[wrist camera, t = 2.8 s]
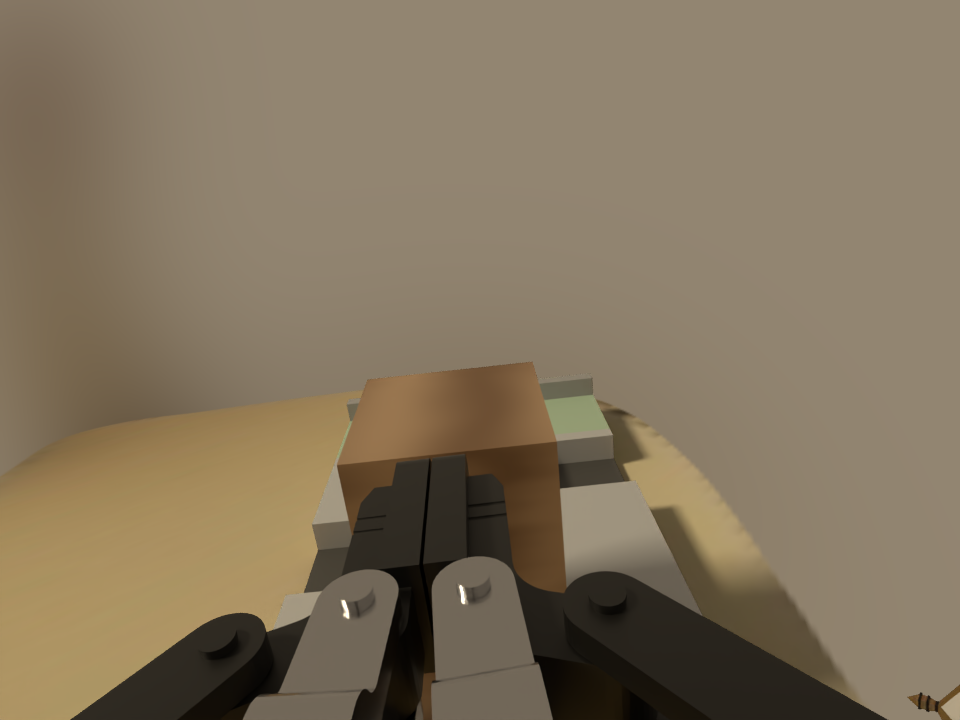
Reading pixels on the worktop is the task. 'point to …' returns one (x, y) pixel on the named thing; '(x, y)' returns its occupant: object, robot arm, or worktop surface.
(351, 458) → the walnut block
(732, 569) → the worktop surface
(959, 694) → the game die
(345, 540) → the board
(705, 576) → the worktop surface
